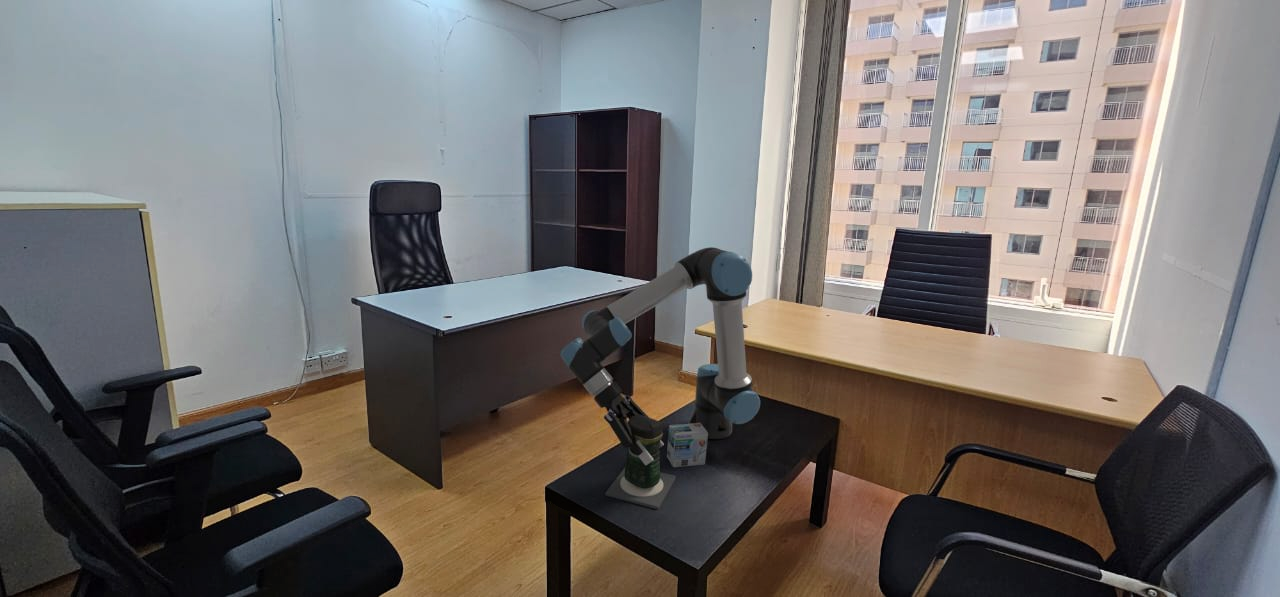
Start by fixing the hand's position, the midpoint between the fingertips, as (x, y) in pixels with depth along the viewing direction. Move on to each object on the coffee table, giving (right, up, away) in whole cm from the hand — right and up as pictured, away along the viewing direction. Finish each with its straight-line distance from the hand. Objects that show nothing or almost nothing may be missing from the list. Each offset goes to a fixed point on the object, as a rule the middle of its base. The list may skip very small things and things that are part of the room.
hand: (655, 454), depth 144 cm
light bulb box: (+10, -8, +18) cm, 22 cm away
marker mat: (-4, -10, +3) cm, 11 cm away
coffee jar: (-4, -8, +3) cm, 10 cm away
